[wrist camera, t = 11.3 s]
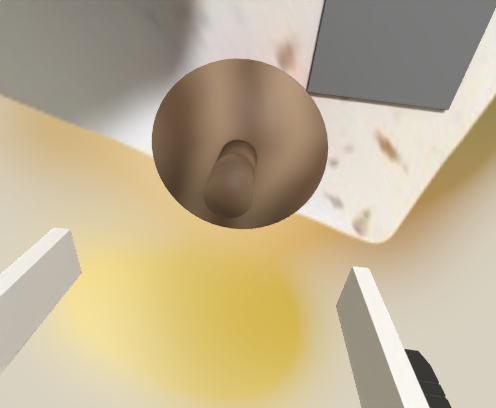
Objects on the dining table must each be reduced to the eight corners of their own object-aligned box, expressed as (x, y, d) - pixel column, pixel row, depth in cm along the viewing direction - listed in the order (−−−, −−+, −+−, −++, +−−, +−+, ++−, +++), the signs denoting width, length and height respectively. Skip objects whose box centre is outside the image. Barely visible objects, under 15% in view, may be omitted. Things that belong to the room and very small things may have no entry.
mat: (307, 91, 36) (307, 91, 35) (348, -110, 26) (349, -112, 26) (446, 109, 36) (448, 109, 35) (536, -86, 26) (539, -88, 26)
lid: (160, 214, 32) (125, 268, 25) (149, 46, 24) (90, 50, 16) (305, 232, 32) (316, 293, 25) (348, 71, 24) (386, 86, 16)
